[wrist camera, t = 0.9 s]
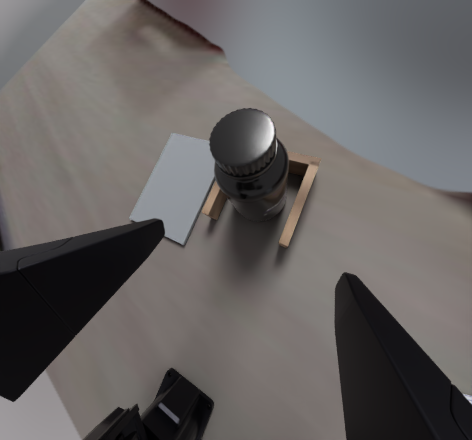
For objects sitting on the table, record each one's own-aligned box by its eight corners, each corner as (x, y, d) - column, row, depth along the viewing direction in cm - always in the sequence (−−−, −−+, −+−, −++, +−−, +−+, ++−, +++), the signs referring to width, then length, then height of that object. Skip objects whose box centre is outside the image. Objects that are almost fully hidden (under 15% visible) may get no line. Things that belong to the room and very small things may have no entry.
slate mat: (184, 245, 24) (182, 244, 24) (131, 219, 28) (129, 218, 27) (229, 147, 26) (228, 145, 26) (173, 134, 30) (172, 132, 29)
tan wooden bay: (287, 248, 21) (287, 246, 18) (210, 217, 24) (201, 212, 21) (316, 171, 22) (321, 158, 19) (239, 153, 25) (234, 139, 22)
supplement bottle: (283, 225, 21) (285, 185, 10) (232, 219, 23) (185, 181, 12) (289, 174, 23) (296, 89, 11) (239, 173, 25) (203, 100, 13)
